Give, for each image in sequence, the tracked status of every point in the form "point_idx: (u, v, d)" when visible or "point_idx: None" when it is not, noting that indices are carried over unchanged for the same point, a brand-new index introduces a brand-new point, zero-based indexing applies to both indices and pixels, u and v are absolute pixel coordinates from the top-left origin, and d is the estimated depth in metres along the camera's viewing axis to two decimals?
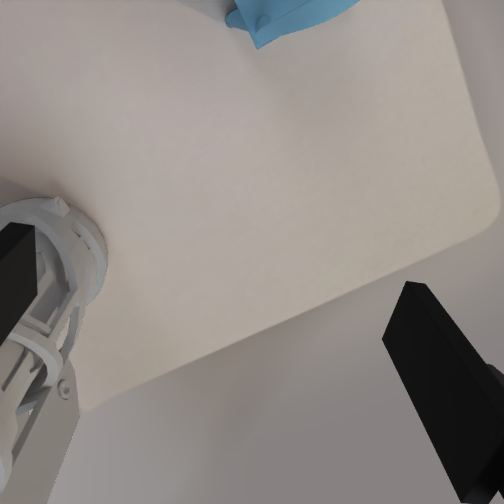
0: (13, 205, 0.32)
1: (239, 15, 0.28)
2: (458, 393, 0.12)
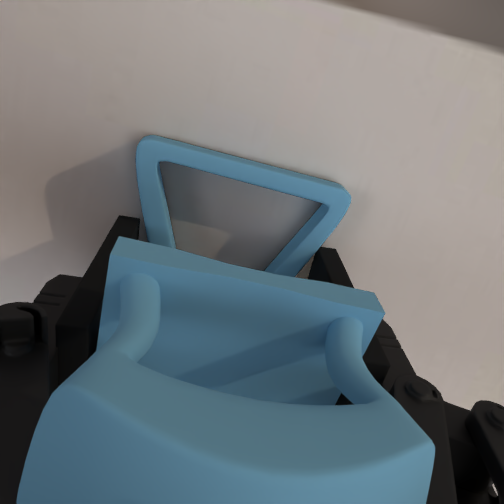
0: None
1: None
2: None
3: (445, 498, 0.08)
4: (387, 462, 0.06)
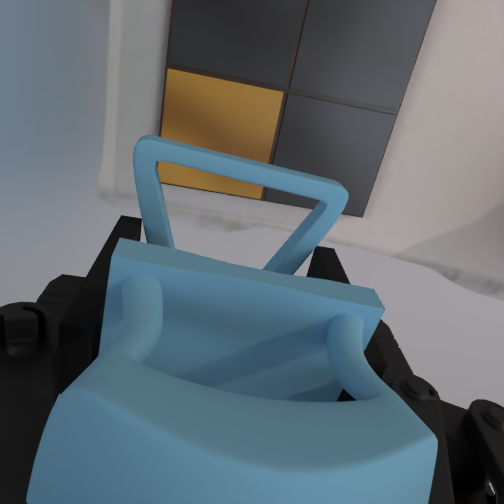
0: None
1: None
2: None
3: (442, 497, 0.08)
4: (392, 457, 0.07)
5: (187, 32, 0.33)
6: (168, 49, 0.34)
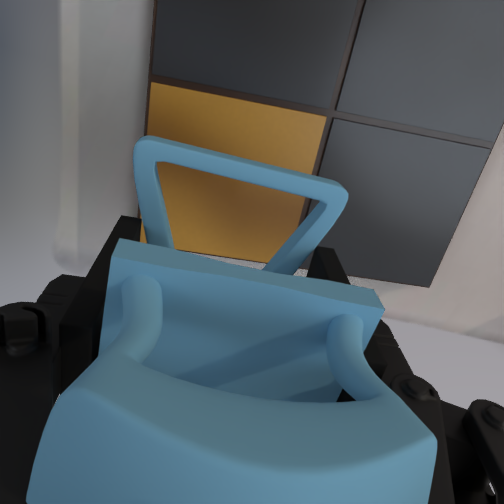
0: None
1: None
2: None
3: (442, 497, 0.08)
4: (391, 457, 0.07)
5: (180, 26, 0.21)
6: (151, 53, 0.22)
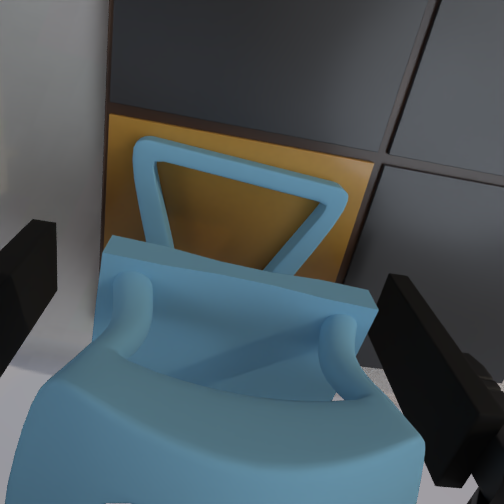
0: None
1: None
2: (434, 381, 0.12)
3: None
4: (374, 457, 0.06)
5: (151, 29, 0.13)
6: (109, 70, 0.14)
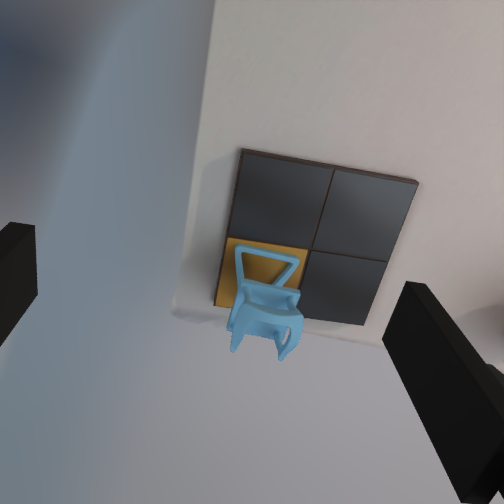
0: None
1: None
2: (458, 394, 0.12)
3: None
4: (292, 316, 0.41)
5: (242, 217, 0.48)
6: (228, 226, 0.49)
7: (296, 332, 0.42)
